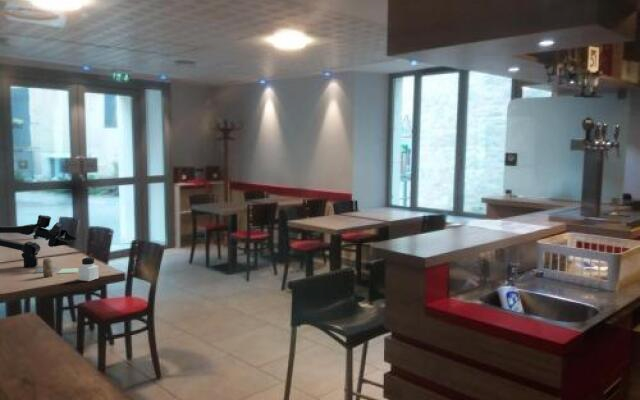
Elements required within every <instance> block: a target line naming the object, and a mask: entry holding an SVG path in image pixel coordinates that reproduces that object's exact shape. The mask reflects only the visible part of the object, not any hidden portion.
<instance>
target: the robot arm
mask: <svg viewBox="0 0 640 400" xmlns="http://www.w3.org/2000/svg"><path fill="white" fill-rule="evenodd" d="M51 220H52V217H51V216H49V215H41V214H39V215H38V216H37V220H36V223H31V224H30V223H29V224H25V225H11V226H9V225H2V226H1V225H0V234H20V235H21V234H22V235H25V236H29V235H32V237H33V239H34V240H37V239H39V238H41V239H44V240H45V241H48V242H47V245H48V247H50V248H54V247H60V246H68V245H70V242H68V241H74V240H75V241H76V240H77V237H75V236H74V235H72V234H71V233H70V231H69V229H68V228H66V227H64V228H63V229H61V228H62V227H63V224H62V222H59V221H58V222H55V224H54V225H53V226H52V227H51V228H50V229H47V228H48V227H50V223H51ZM0 247H4V248H8V249H13V250H17V251H21V252H22V253H21V257H22V258H23V266H22V268H36V267H37V266H39V261H38V257H37V256H38V254H39V252H41V246H40V244H38V243H37V242H33V241H26V242H20V241H15V240H10V239H5V238H1V237H0Z"/></svg>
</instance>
